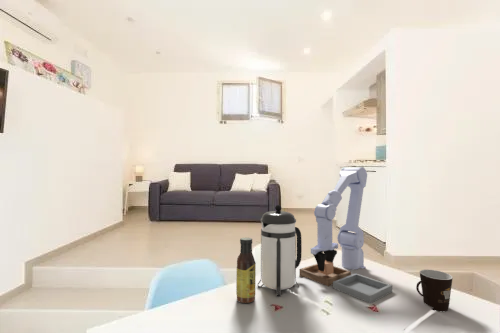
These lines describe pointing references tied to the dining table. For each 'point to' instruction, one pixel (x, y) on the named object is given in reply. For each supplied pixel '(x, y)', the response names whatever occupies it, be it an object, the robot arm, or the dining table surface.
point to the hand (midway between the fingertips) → (324, 269)
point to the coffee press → (279, 250)
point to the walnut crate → (327, 280)
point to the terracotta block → (327, 268)
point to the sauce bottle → (245, 272)
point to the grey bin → (362, 287)
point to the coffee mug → (435, 289)
